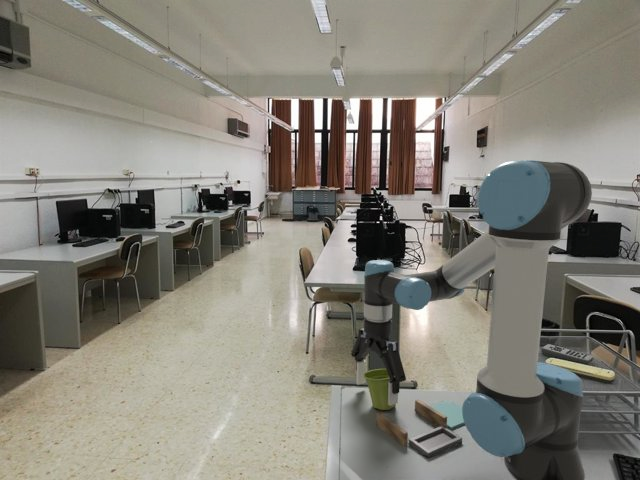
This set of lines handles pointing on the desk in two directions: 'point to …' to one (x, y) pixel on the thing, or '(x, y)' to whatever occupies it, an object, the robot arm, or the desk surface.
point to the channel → (401, 433)
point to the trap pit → (435, 441)
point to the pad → (450, 413)
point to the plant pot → (378, 388)
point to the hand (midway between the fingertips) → (376, 393)
